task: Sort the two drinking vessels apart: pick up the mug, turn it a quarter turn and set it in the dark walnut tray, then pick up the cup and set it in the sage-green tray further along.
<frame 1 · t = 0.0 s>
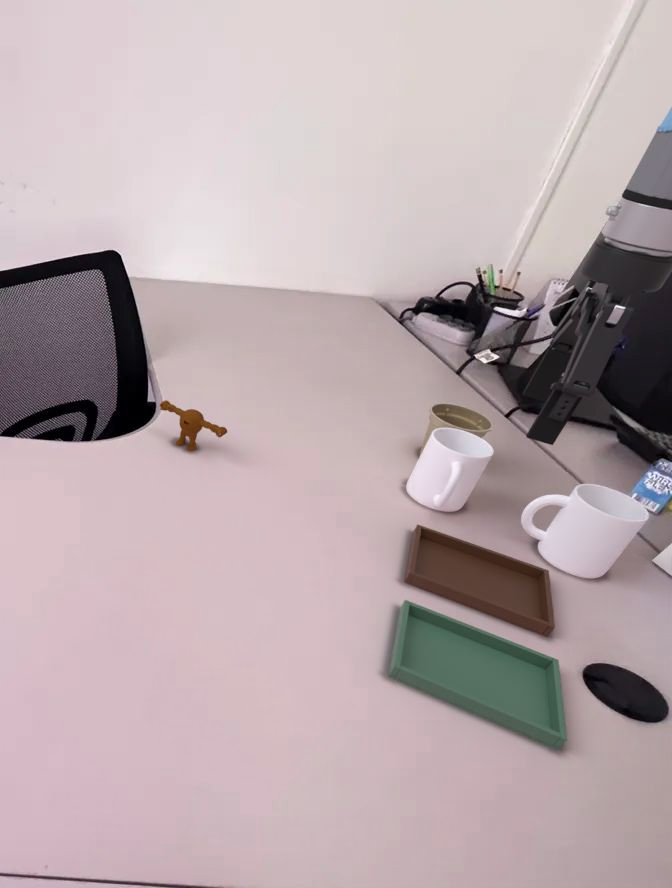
hand: (536, 417, 84), 20 cm above the table, tool pointing down, fingers open, 13 cm apart
walnut tray: (473, 582, 88), on the table
toy figurine: (184, 448, 110), on the table
flower pot: (437, 461, 114), on the table
mug: (552, 556, 95), on the table
cup: (431, 504, 103), on the table
green tray: (469, 674, 75), on the table
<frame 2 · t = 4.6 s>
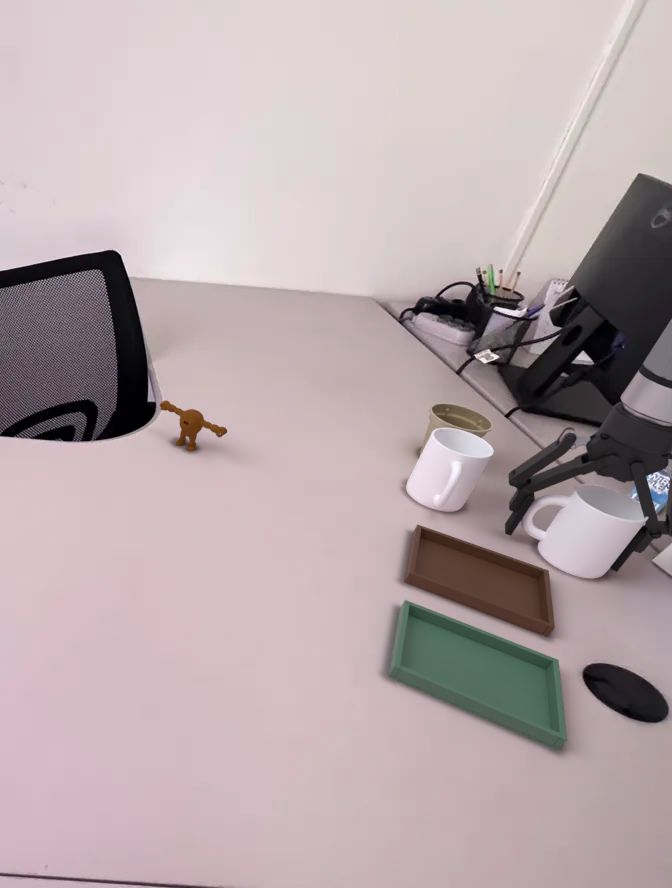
hand: (558, 547, 94), 1 cm above the table, tool pointing down, fingers closed on mug, 12 cm apart
mug: (552, 556, 95), on the table, touching gripper
everything else where it was.
when the fingers open (3 cm above the table, at t = 14.7 s): mug stays where it is, resting on walnut tray.
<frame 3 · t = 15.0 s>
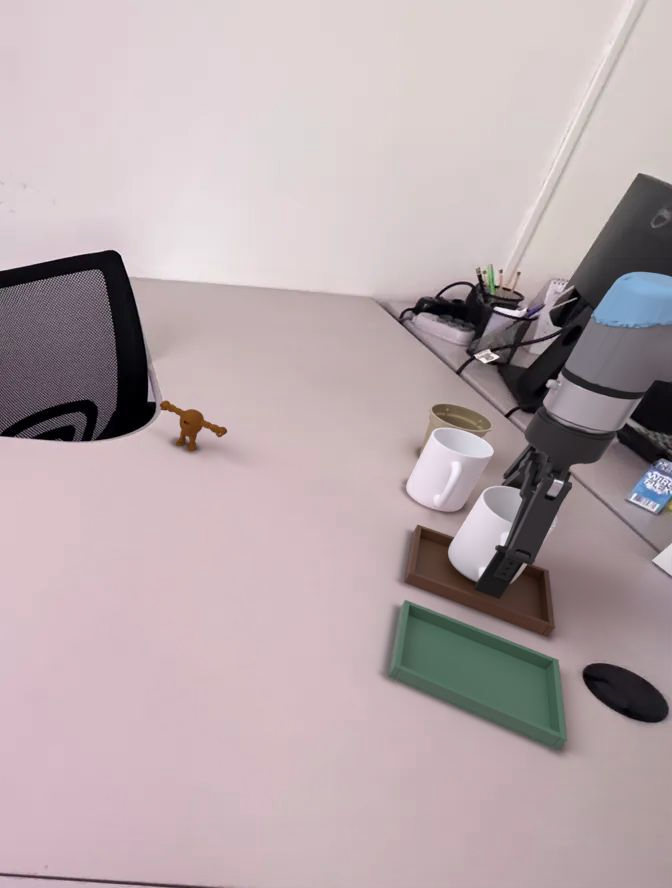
hand: (486, 562, 86), 4 cm above the table, tool pointing down, fingers open, 13 cm apart
mug: (477, 575, 88), point 1 cm above the table, touching gripper, walnut tray
everything else where it was.
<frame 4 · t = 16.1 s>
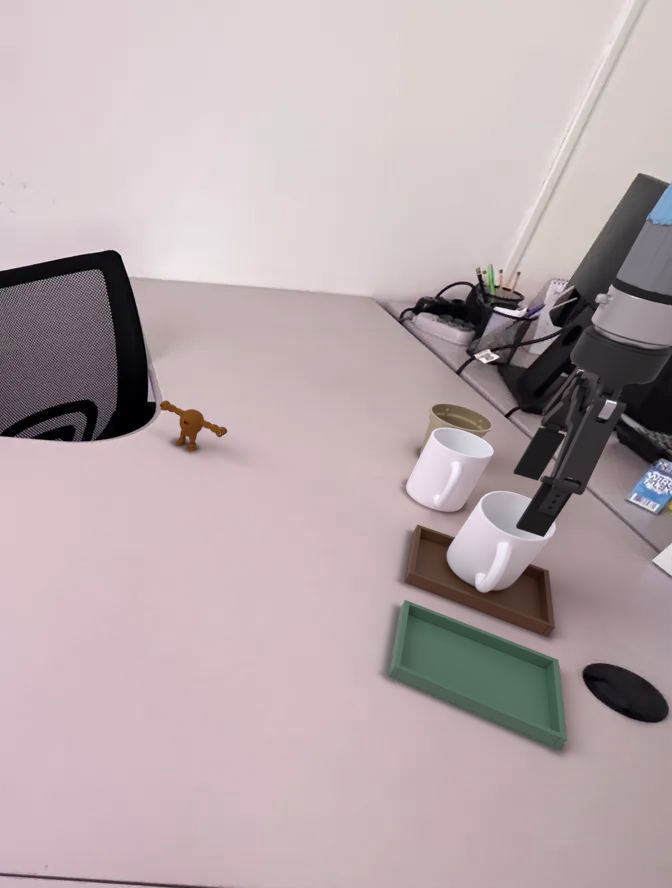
hand: (527, 502, 81), 13 cm above the table, tool pointing down, fingers open, 13 cm apart
mug: (475, 577, 88), point 1 cm above the table, touching walnut tray
everything else where it was.
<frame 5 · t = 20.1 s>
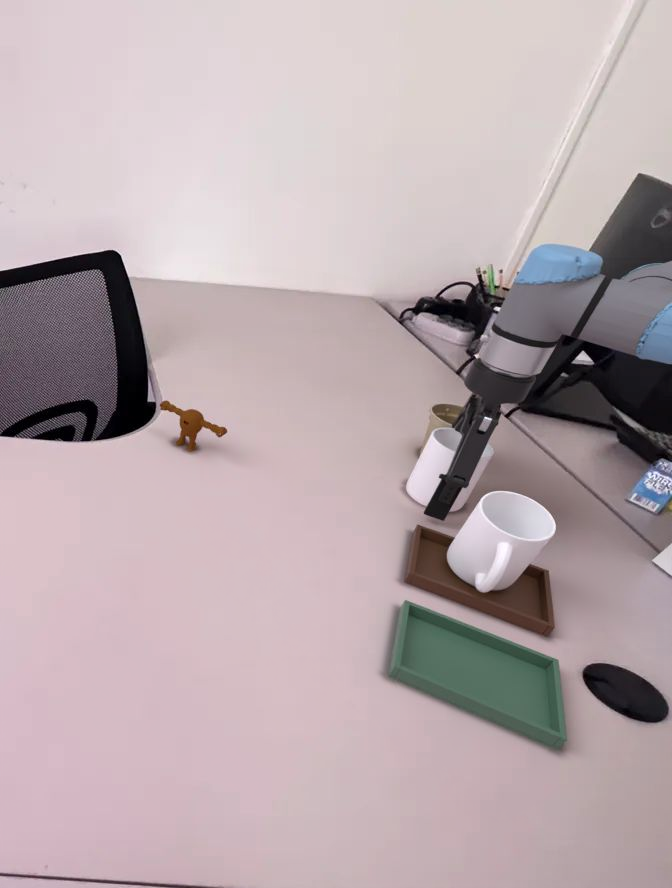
hand: (436, 495, 102), 1 cm above the table, tool pointing down, fingers closed on cup, 12 cm apart
cup: (431, 504, 103), on the table, touching gripper
everything else where it was.
when the fingers open (3 cm above the table, at t = 29.7 s): cup stays where it is, resting on green tray.
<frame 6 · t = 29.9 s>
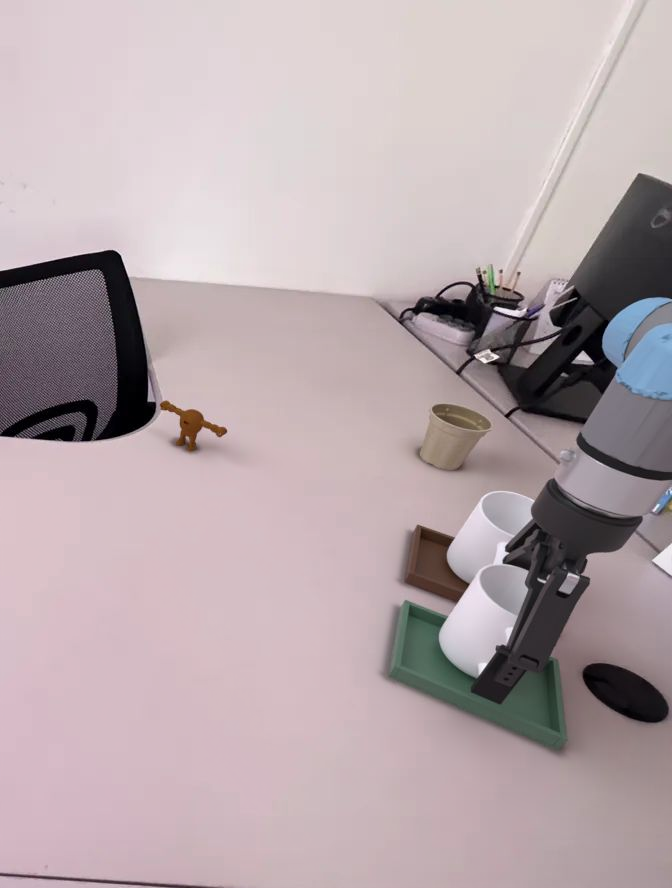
hand: (485, 652, 73), 4 cm above the table, tool pointing down, fingers open, 13 cm apart
cup: (475, 666, 74), point 1 cm above the table, touching green tray, gripper
everything else where it was.
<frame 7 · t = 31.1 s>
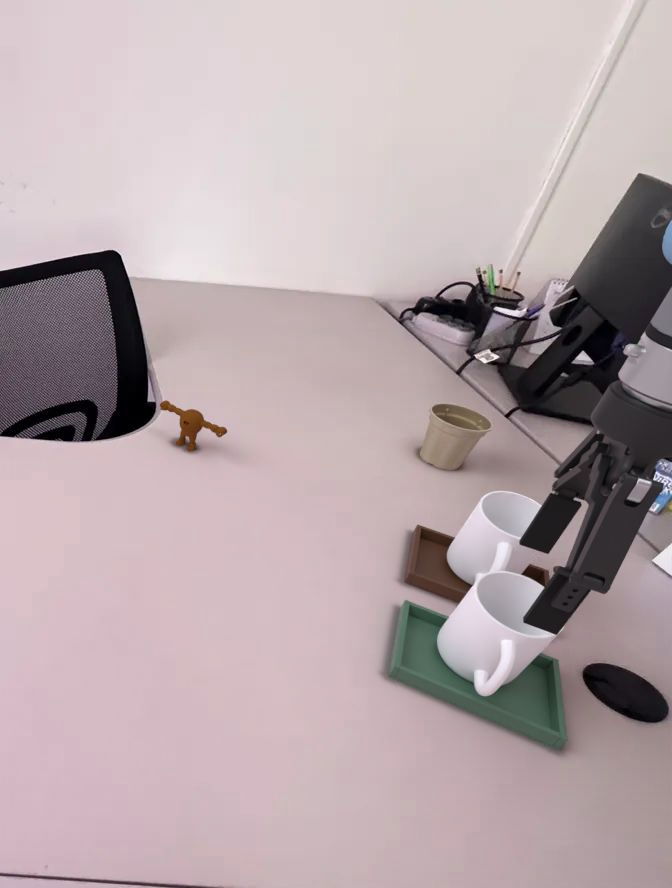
hand: (536, 584, 67), 14 cm above the table, tool pointing down, fingers open, 13 cm apart
cup: (472, 669, 75), point 1 cm above the table, touching green tray
everything else where it was.
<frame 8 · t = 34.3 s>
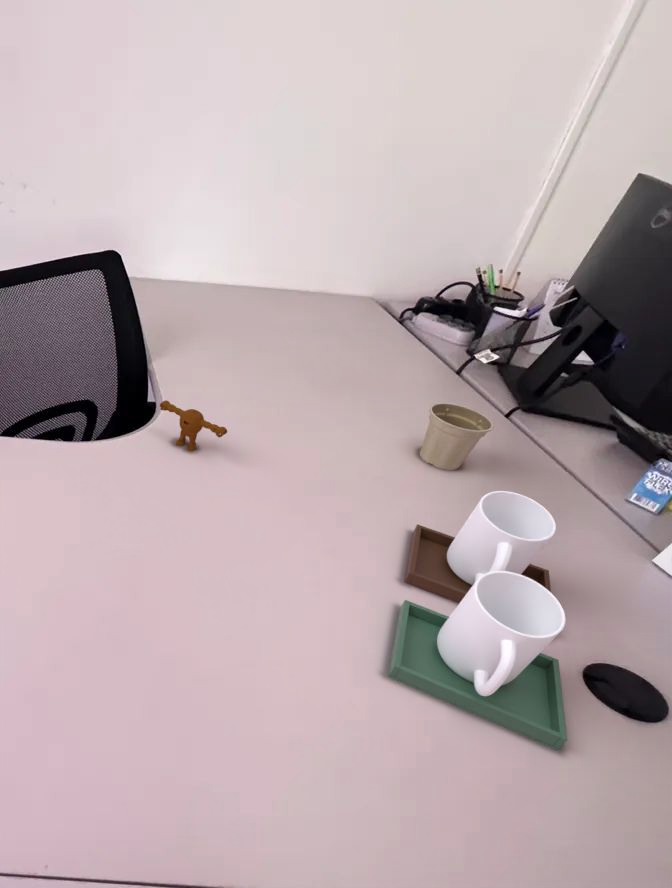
nothing on the table moved.
at the end: mug inside the target area in the walnut tray (0.1 cm from its centre), point 0.8 cm above the walnut tray's base; cup inside the target area in the green tray (0.1 cm from its centre), point 0.8 cm above the green tray's base; mug tilted 11° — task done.
